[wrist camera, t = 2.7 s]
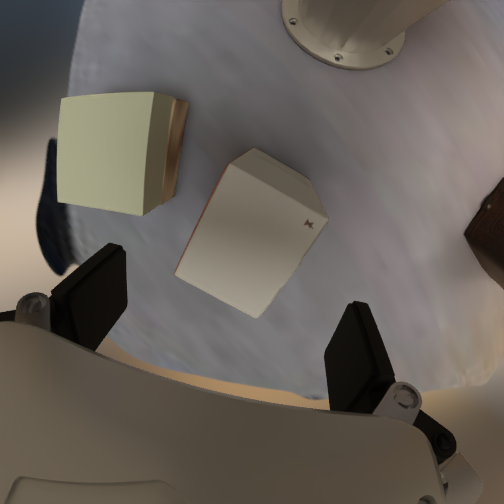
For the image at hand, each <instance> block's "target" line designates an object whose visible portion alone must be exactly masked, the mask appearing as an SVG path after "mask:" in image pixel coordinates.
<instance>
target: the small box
mask: <svg viewBox="0 0 504 504" xmlns="http://www.w3.org/2000/svg"><path fill="white" fill-rule="evenodd" d="M328 221H329V218H328V216H327V214H326V212H325V210H324V208H323V206H322V204H321V202H320V200H319V198H318V196H317V194H316V192H315V190H314V188H313V186H312V184H311V183H310V181H309V179H308V178H306V177H305V176H303V175H301V174H300V173H298V172H296V171H295V170H293V169H291V168H290V167H288V166H286V165H284V164H283V163H281V162H279V161H278V160H276V159H274V158H272V157H271V156H269V155H267V154H265V153H264V152H262V151H260V150H258V149H256V148H253V149H251V150H249V151H248V152H246V153H244V154H243V155H241V156H240V157H238V158H237V159H235V160H233V161H232V162H230V163H228V165H227V166H226V168H225V170H224V171H223V173H222V175H221V177H220V179H219V181H218V183H217V185H216V187H215V189H214V191H213V192H212V194H211V196H210V198H209V200H208V202H207V204H206V206H205V208H204V210H203V212H202V214H201V216H200V219H199V221H198V223H197V225H196V227H195V229H194V231H193V233H192V235H191V237H190V239H189V242H188V244H187V246H186V248H185V250H184V252H183V255H182V257H181V259H180V261H179V263H178V266H177V268H176V270H175V273H174V274H175V276H177V277H179V278H181V279H182V280H184V281H186V282H188V283H190V284H192V285H193V286H195V287H197V288H199V289H201V290H203V291H204V292H206V293H208V294H210V295H212V296H214V297H216V298H218V299H220V300H222V301H223V302H225V303H227V304H229V305H231V306H233V307H235V308H237V309H238V310H240V311H242V312H244V313H246V314H248V315H250V316H252V317H253V318H256V319H257V318H259V317H260V316H261V314H262V313H263V312H264V311H265V310H266V308H267V307H268V306H269V304H270V303H271V302H272V301H273V299H274V298H275V297H276V295H277V294H278V293H279V291H280V290H281V289H282V287H283V286H284V285H285V284H286V282H287V281H288V280H289V279H290V278H291V276H292V275H293V274H294V272H295V271H296V269H297V268H298V266H299V265H300V264H301V262H302V260H303V258H304V257H305V255H306V254H307V252H308V251H309V249H310V248H311V246H312V245H313V243H314V242H315V240H316V239H317V237H318V236H319V234H320V233H321V231H322V230H323V229H324V227H325V226H326V224H327V223H328Z"/></svg>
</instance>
